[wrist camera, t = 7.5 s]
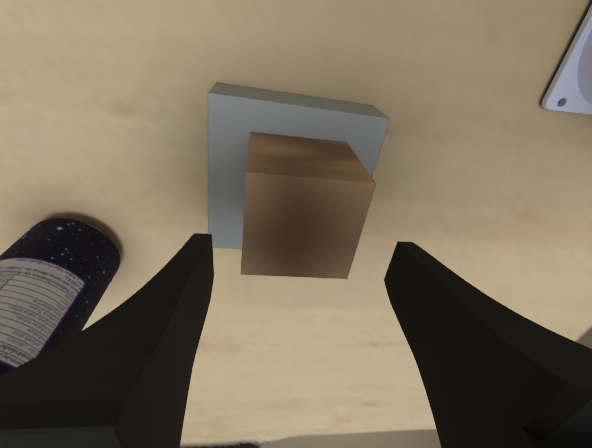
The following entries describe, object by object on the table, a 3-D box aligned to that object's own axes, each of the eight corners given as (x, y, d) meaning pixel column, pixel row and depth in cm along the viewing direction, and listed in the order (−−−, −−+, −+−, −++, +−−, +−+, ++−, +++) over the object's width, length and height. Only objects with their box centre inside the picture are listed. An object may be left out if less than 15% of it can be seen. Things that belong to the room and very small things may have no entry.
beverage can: (14, 231, 21) (-220, 426, 11) (82, 197, 20) (-103, 376, 10) (80, 285, 24) (-55, 477, 14) (141, 258, 23) (46, 442, 13)
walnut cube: (347, 142, 16) (376, 183, 12) (328, 222, 19) (347, 278, 15) (251, 131, 15) (245, 172, 11) (246, 216, 18) (240, 274, 14)
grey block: (370, 103, 19) (389, 118, 16) (336, 227, 23) (347, 256, 20) (217, 81, 17) (208, 92, 14) (215, 217, 22) (208, 246, 19)
